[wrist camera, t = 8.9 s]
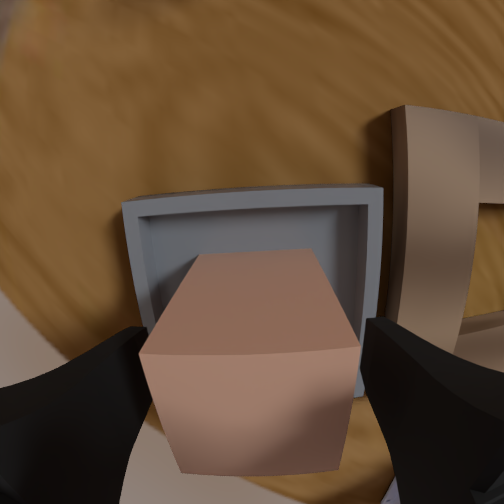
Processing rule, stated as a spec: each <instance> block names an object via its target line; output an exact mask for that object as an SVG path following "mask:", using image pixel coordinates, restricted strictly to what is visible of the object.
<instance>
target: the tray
mask: <svg viewBox="0 0 504 504" xmlns="http://www.w3.org/2000/svg"><path fill="white" fill-rule="evenodd" d="M121 204H122V212H123V219H124V227H125V234H126V240H127V247H128V253H129V259H130V264H131V270H132V276H133V281H134V286H135V291H136V296H137V301H138V305H139V310H140V315H141V319H142V323H143V327H147V330H148V334H149V335H150V333H151V332H152V330H153V328H154V327H155V325H156V323H157V322H158V320H159V318H160V317H161V315H162V314H163V312H164V310H165V309H166V307H167V305H168V304H169V302H170V300H171V299H172V297H173V295H174V294H175V292H176V291H177V289H178V287H179V286H180V284H181V283H182V281H183V279H184V278H185V276H186V275H187V273H188V271H189V270H190V268H191V267H192V265H193V263H194V262H195V260H196V259H197V257H198V256H199V254H217V253H235V252H253V251H272V250H290V249H309V248H311V249H312V251H313V252H314V254H315V256H316V258H317V260H318V262H319V264H320V266H321V268H322V269H323V271H324V273H325V275H326V277H327V279H328V281H329V283H330V285H331V287H332V289H333V291H334V293H335V295H336V297H337V299H338V301H339V303H340V305H341V307H342V309H343V311H344V313H345V315H346V317H347V319H348V321H349V323H350V325H351V327H352V329H353V331H354V333H355V335H356V337H357V339H358V341H359V343H360V345H361V350H360V357H359V365H358V372H357V378H356V385H355V391H354V397H361V396H363V394H364V389H365V387H364V384H363V380H362V376H361V372H360V362H361V355H362V348H363V340H364V332H365V324H366V318H374V317H376V311H377V301H378V291H379V280H380V268H381V253H382V232H383V187H379V186H375V185H371V184H305V185H278V186H258V187H240V188H225V189H212V190H199V191H187V192H176V193H166V194H156V195H147V196H138V197H135V198H133V199H130V200H127V201H124V202H121ZM354 397H353V398H354Z"/></svg>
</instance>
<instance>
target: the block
mask: <svg viewBox="0 0 504 504" xmlns="http://www.w3.org/2000/svg"><path fill="white" fill-rule="evenodd" d="M360 350H361V345H360V343H359V341H358V339H357V337H356V335H355V333H354V331H353V329H352V327H351V325H350V323H349V321H348V319H347V317H346V315H345V313H344V311H343V309H342V307H341V305H340V303H339V301H338V299H337V297H336V295H335V293H334V291H333V289H332V287H331V285H330V283H329V281H328V279H327V277H326V275H325V273H324V271H323V269H322V268H321V266H320V264H319V262H318V260H317V258H316V256H315V254H314V252H313V251H312V249H311V248H309V249H290V250H272V251H253V252H235V253H217V254H199V256H198V257H197V259H196V260H195V262H194V263H193V265H192V267H191V268H190V270H189V271H188V273H187V275H186V276H185V278H184V279H183V281H182V283H181V284H180V286H179V287H178V289H177V291H176V292H175V294H174V295H173V297H172V299H171V300H170V302H169V304H168V305H167V307H166V309H165V310H164V312H163V314H162V315H161V317H160V318H159V320H158V322H157V323H156V325H155V327H154V328H153V330H152V332H151V333H150V335H149V337H148V339H147V340H146V342H145V344H144V345H143V347H142V349H141V350H140V352H139V357H140V360H141V364H142V367H143V370H144V373H145V377H146V380H147V383H148V386H149V389H150V392H151V395H152V398H153V401H154V404H155V407H156V410H157V413H158V416H159V418H160V421H161V424H162V426H163V429H164V432H165V434H166V437H167V440H168V442H169V444H170V447H171V449H172V452H173V454H174V457H175V459H176V462H177V464H178V466H179V468H180V471H181V473H187V474H199V475H216V476H278V475H295V474H307V473H317V472H325V471H333V470H338V469H339V465H340V461H341V457H342V452H343V448H344V443H345V439H346V434H347V429H348V424H349V419H350V414H351V408H352V403H353V397H354V391H355V385H356V378H357V372H358V365H359V357H360Z"/></svg>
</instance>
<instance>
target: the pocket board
mask: <svg viewBox="0 0 504 504" xmlns="http://www.w3.org/2000/svg"><path fill="white" fill-rule="evenodd" d="M390 112H391V126H392V145H393V228H392V247H391V262H390V274H389V284H388V294H387V303H386V311H385V318H388V319H390V320H391V321H393V322H395V323H397V324H399V325H400V326H402V327H404V328H405V329H407V330H409V331H410V332H412V333H414V334H416V335H417V336H419V337H421V338H422V339H424V340H426V341H428V342H430V343H431V344H433V345H435V346H437V347H439V348H441V349H443V350H445V351H447V352H449V353H451V354H453V355H455V356H457V357H460V358H462V359H465V360H467V361H470V362H472V363H475V364H477V365H480V366H483V367H486V368H489V369H493V370H497V371H500V372H504V310H503V311H498V312H494V313H489V314H484V315H479V316H474V317H469V318H464V319H462V317H463V313H464V309H465V304H466V299H467V294H468V289H469V283H470V278H471V271H472V265H473V258H474V250H475V242H476V233H477V222H478V208H479V203H502V204H504V122H500V121H496V120H492V119H487V118H483V117H478V116H473V115H468V114H463V113H458V112H452V111H446V110H440V109H433V108H426V107H419V106H411V105H403V106H400V107H397V108H394V109H391V110H390Z"/></svg>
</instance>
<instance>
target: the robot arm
mask: <svg viewBox="0 0 504 504" xmlns="http://www.w3.org/2000/svg"><path fill="white" fill-rule="evenodd" d="M148 337H149V334H148V330H147V327H133V326H131V327H128V328H126V329H124V330H122V331H120V332H119V333H117V334H115V335H114V336H112V337H110V338H109V339H107V340H105V341H104V342H102V343H100V344H99V345H97V346H95V347H94V348H92V349H91V350H89V351H87V352H85V353H84V354H82V355H80V356H78V357H77V358H75V359H73V360H71V361H69V362H68V363H66V364H64V365H62V366H60V367H58V368H56V369H54V370H52V371H49V372H47V373H45V374H42V375H40V376H37V377H35V378H32V379H29V380H26V381H23V382H20V383H17V384H14V385H11V386H7V387H3V388H0V504H119V500H120V496H121V491H122V486H123V481H124V476H125V472H126V469H127V465H128V461H129V457H130V454H131V451H132V448H133V445H134V443H135V441H136V438H137V436H138V433H139V431H140V429H141V426H142V424H143V422H144V419H145V417H146V415H147V412H148V410H149V407H150V405H151V402H152V400H153V398H152V395H151V392H150V389H149V386H148V383H147V380H146V377H145V373H144V370H143V367H142V364H141V360H140V357H139V352H140V350H141V349H142V347H143V345H144V344H145V342H146V340H147V339H148ZM360 372H361V376H362V380H363V384H364V387H365V391H366V394H367V397H368V399H369V401H370V404H371V406H372V409H373V411H374V414H375V416H376V418H377V421H378V423H379V426H380V428H381V431H382V433H383V435H384V438H385V440H386V443H387V446H388V449H389V452H390V456H391V460H392V464H393V468H394V473H395V478H394V480H393V482H392V483H391V485H390V487H389V489H388V491H387V493H386V495H385V496H384V498H383V500H382V502H381V503H380V504H504V372H500V371H497V370H493V369H489V368H486V367H483V366H480V365H477V364H475V363H472V362H470V361H467V360H465V359H462V358H460V357H457V356H455V355H453V354H451V353H449V352H447V351H445V350H443V349H441V348H439V347H437V346H435V345H433V344H431V343H430V342H428V341H426V340H424V339H422V338H421V337H419V336H417V335H416V334H414V333H412V332H410V331H409V330H407V329H405V328H404V327H402V326H400V325H399V324H397V323H395V322H393V321H391V320H390V319H388V318H385V317H374V318H366V324H365V332H364V340H363V348H362V355H361V362H360Z"/></svg>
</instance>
